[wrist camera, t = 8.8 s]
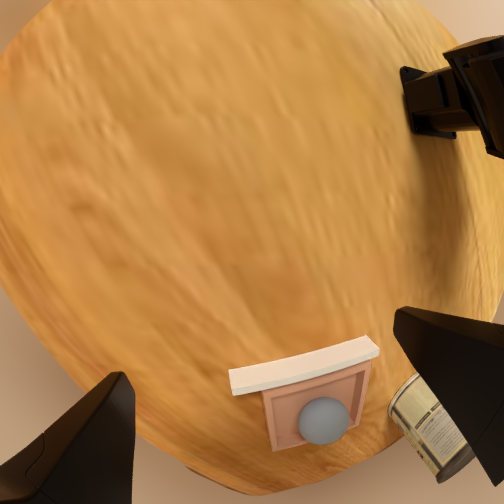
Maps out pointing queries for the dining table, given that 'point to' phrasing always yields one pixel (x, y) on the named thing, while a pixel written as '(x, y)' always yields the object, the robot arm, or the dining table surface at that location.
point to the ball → (323, 421)
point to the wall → (301, 366)
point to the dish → (301, 393)
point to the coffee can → (429, 429)
